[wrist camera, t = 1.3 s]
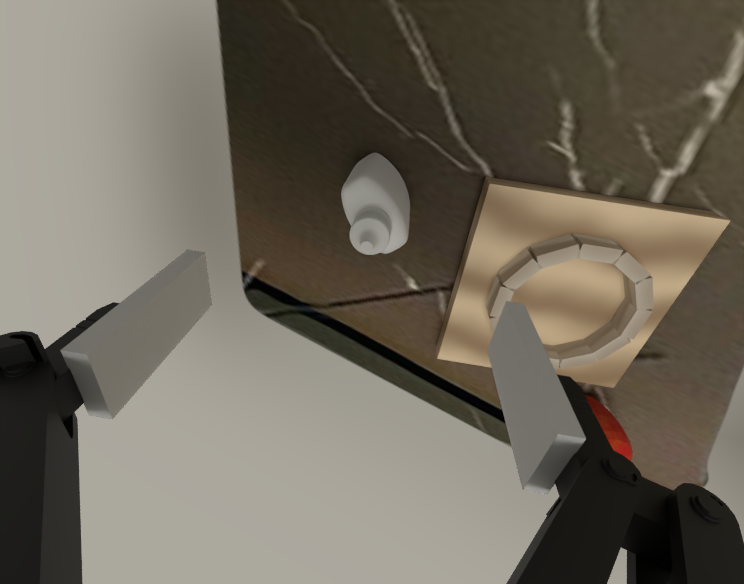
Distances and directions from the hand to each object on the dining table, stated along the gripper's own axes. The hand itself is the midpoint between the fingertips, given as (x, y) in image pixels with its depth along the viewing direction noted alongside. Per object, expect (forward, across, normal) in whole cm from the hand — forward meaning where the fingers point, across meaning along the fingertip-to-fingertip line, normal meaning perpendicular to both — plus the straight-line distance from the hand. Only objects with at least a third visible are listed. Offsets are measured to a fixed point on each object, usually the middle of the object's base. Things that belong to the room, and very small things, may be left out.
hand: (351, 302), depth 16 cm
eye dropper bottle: (+17, 0, 0) cm, 17 cm away
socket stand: (+17, +17, -7) cm, 25 cm away
